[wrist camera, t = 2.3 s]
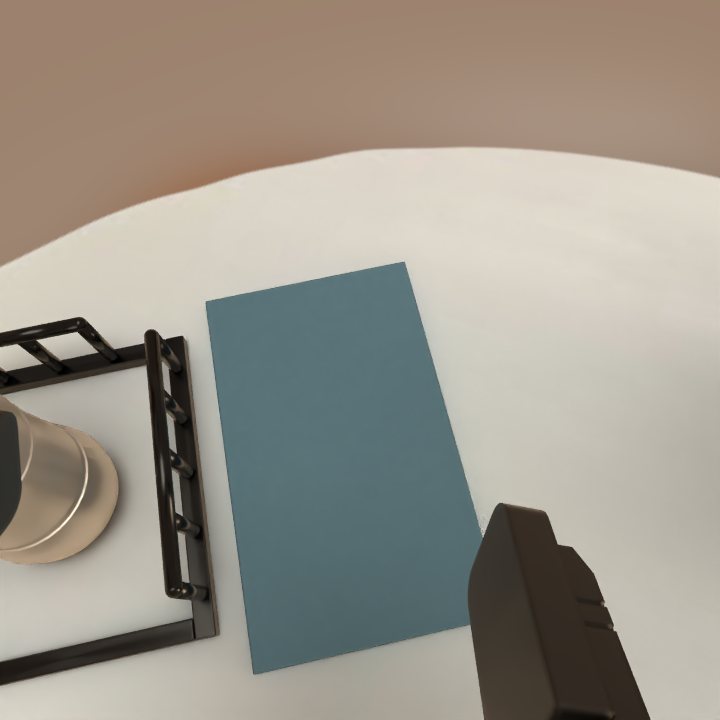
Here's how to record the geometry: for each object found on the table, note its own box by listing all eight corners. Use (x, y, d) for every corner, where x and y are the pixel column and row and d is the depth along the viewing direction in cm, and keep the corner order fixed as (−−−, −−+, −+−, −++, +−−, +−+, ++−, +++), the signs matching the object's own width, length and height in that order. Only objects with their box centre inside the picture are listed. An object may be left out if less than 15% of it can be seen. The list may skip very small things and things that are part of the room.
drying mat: (207, 306, 37) (205, 301, 36) (404, 266, 38) (404, 260, 37) (255, 673, 29) (253, 674, 29) (502, 616, 30) (504, 616, 29)
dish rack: (-57, 390, 35) (-128, 353, 30) (187, 340, 36) (156, 296, 31) (-76, 703, 29) (-168, 719, 24) (220, 635, 30) (188, 637, 25)
